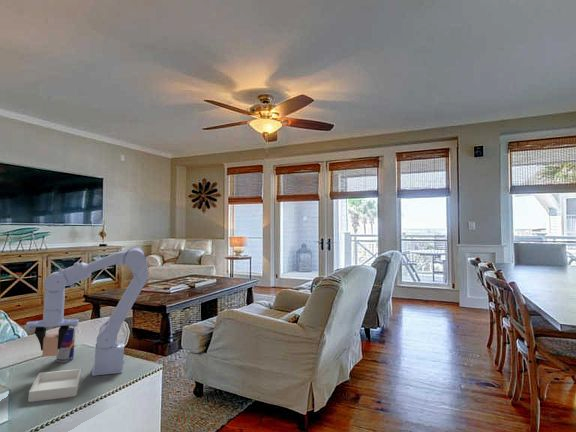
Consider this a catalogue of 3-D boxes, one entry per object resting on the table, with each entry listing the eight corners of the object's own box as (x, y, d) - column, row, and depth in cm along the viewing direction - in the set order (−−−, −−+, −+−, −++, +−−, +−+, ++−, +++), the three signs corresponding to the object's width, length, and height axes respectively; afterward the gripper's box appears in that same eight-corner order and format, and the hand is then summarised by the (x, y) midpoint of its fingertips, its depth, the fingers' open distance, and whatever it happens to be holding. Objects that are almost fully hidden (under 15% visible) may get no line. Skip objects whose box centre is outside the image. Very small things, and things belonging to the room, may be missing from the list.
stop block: (59, 350, 120) (60, 333, 120) (56, 355, 116) (57, 337, 116) (45, 351, 118) (46, 334, 118) (42, 356, 115) (43, 338, 115)
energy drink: (65, 363, 126) (67, 330, 126) (52, 361, 127) (54, 328, 127) (76, 357, 131) (79, 326, 131) (64, 355, 132) (67, 324, 132)
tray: (81, 377, 117) (81, 368, 117) (76, 396, 106) (76, 386, 106) (38, 382, 112) (38, 372, 112) (28, 402, 102) (28, 391, 101)
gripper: (80, 304, 124) (77, 342, 124) (30, 305, 118) (28, 345, 118) (77, 310, 117) (74, 350, 117) (25, 312, 111) (22, 354, 112)
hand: (51, 348), depth 117 cm, fingers closed on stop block, 4 cm apart
